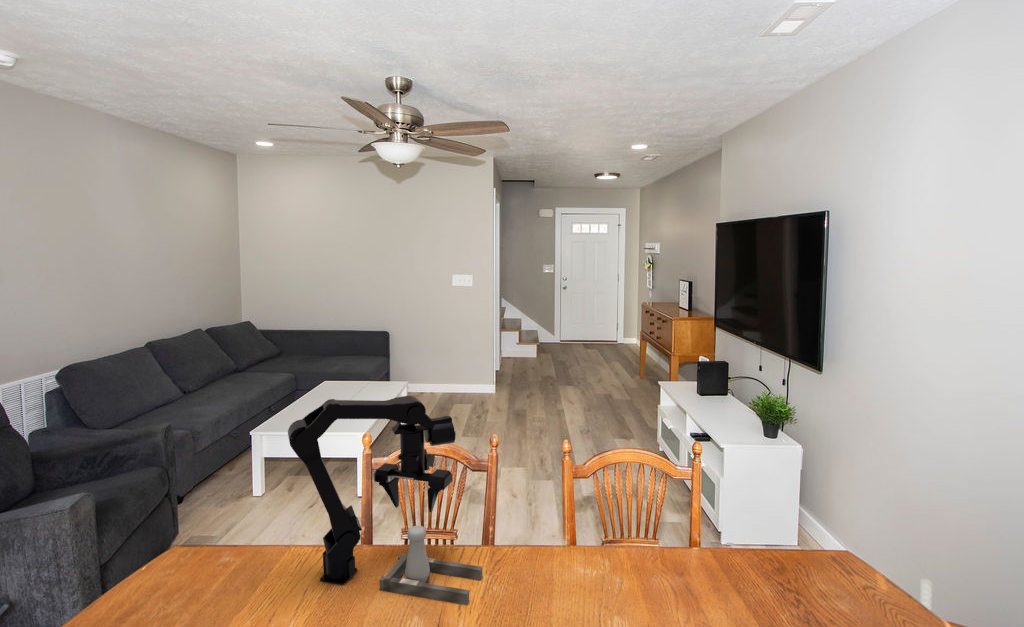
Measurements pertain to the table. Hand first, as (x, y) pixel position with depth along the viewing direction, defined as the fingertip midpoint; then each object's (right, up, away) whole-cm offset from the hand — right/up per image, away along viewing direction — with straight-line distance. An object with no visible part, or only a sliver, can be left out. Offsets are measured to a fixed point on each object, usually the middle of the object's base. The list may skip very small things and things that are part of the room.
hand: (413, 509), depth 142 cm
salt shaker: (+2, -14, -8) cm, 16 cm away
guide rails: (+6, -14, -9) cm, 18 cm away
